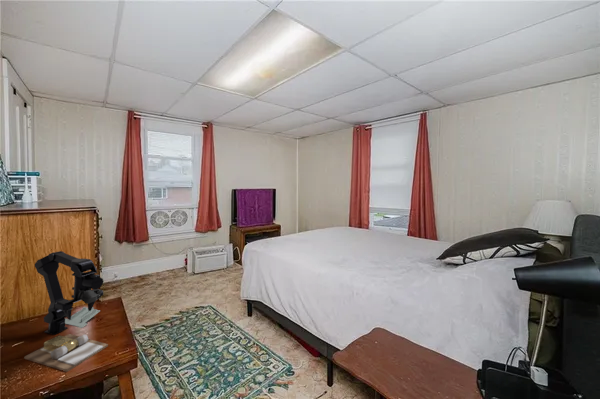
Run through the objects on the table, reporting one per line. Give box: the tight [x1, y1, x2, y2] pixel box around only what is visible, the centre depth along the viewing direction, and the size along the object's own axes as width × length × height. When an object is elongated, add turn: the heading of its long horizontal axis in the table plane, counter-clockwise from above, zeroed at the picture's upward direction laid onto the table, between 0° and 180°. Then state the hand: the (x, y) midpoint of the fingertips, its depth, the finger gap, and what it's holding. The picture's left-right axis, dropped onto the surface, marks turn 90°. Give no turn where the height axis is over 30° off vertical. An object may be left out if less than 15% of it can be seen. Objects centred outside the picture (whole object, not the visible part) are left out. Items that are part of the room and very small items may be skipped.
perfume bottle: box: [43, 334, 78, 352], centre depth 117 cm, size 13×6×4 cm, turn 78°
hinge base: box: [23, 333, 109, 372], centre depth 116 cm, size 24×18×5 cm
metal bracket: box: [65, 306, 101, 329], centre depth 142 cm, size 14×6×15 cm
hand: (79, 314), depth 126 cm, fingers open, 9 cm apart
